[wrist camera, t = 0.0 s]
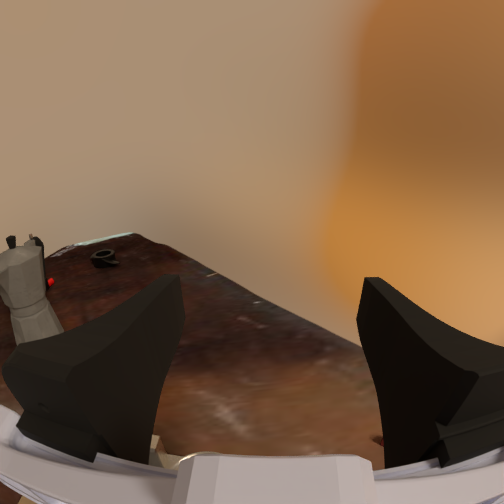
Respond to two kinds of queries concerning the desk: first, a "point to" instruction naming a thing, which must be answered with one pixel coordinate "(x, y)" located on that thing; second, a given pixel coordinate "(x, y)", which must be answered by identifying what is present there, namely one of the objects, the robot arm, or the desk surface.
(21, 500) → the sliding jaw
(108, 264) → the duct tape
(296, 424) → the desk surface
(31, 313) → the coffeepot
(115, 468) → the robot arm
